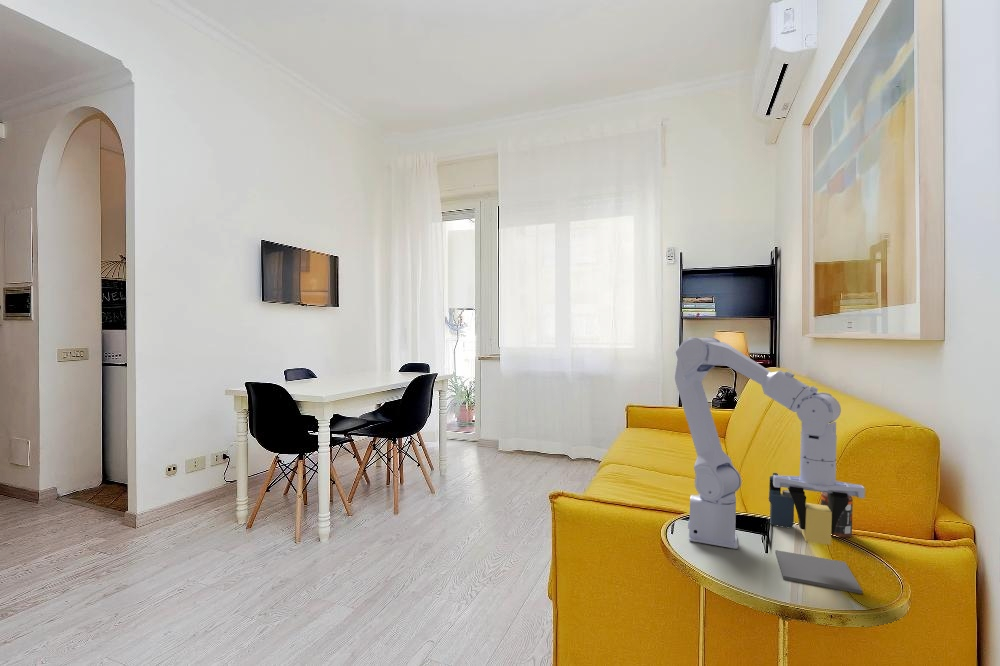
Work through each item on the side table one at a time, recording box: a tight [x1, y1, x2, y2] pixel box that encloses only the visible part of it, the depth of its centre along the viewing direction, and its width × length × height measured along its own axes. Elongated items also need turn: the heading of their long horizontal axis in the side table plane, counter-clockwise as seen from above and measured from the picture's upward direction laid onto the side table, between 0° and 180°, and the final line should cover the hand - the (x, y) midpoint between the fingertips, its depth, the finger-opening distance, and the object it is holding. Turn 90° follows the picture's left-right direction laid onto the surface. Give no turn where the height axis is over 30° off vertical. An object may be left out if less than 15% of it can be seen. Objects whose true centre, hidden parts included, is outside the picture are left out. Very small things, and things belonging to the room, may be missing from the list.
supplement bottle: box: [820, 492, 854, 539], centre depth 113 cm, size 6×6×11 cm
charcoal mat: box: [774, 549, 863, 595], centre depth 94 cm, size 12×12×1 cm
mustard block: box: [801, 502, 832, 546], centre depth 94 cm, size 4×4×6 cm
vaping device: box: [768, 472, 795, 528], centre depth 117 cm, size 3×5×12 cm, turn 67°
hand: (816, 529), depth 94 cm, fingers closed on mustard block, 4 cm apart
